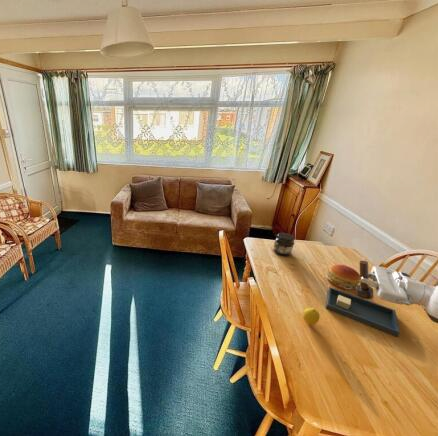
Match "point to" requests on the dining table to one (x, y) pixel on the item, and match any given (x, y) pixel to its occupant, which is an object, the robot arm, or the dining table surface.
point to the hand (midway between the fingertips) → (360, 276)
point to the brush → (363, 288)
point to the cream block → (343, 302)
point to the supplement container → (284, 244)
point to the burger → (343, 277)
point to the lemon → (311, 316)
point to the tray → (365, 312)
